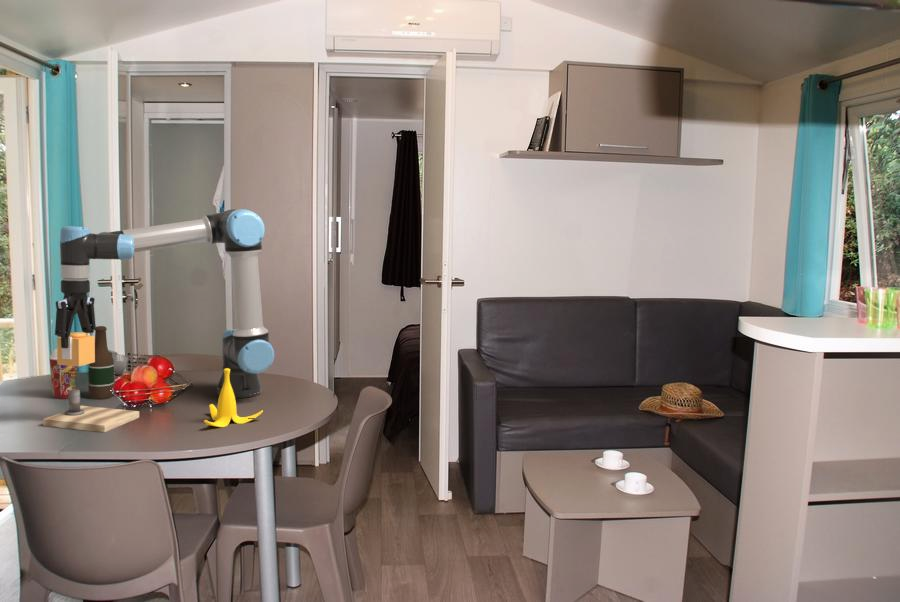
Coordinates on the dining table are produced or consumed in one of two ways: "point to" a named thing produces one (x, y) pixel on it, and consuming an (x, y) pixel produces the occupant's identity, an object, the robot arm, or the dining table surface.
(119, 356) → the gray wire basket
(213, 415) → the banana peel
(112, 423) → the board
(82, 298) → the robot arm
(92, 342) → the orange cube with nub
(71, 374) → the smoothie
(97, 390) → the beer bottle
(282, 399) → the dining table surface
